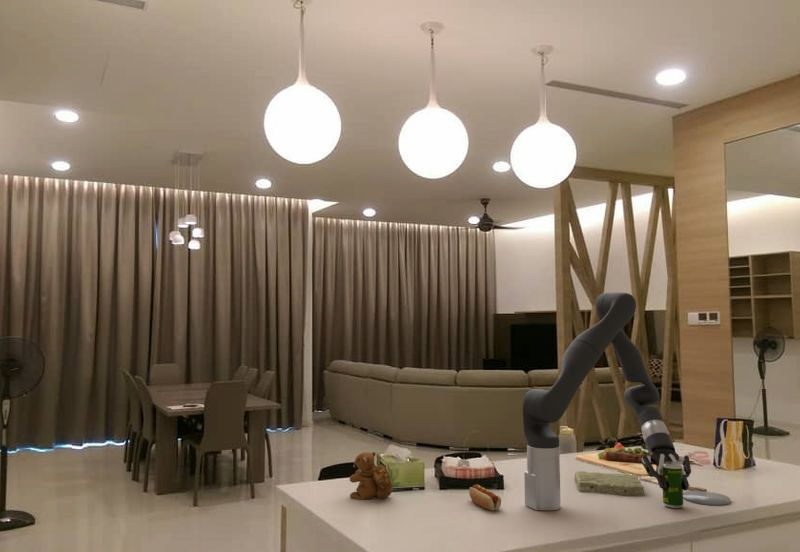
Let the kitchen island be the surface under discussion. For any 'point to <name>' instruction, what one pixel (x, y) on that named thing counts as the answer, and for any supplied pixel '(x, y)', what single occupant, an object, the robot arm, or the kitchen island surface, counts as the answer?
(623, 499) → the kitchen island surface
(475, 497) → the food
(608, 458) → the cutting board
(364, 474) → the stuffed squirrel
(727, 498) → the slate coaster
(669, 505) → the beer can
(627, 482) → the decorative tile
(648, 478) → the beech turner
